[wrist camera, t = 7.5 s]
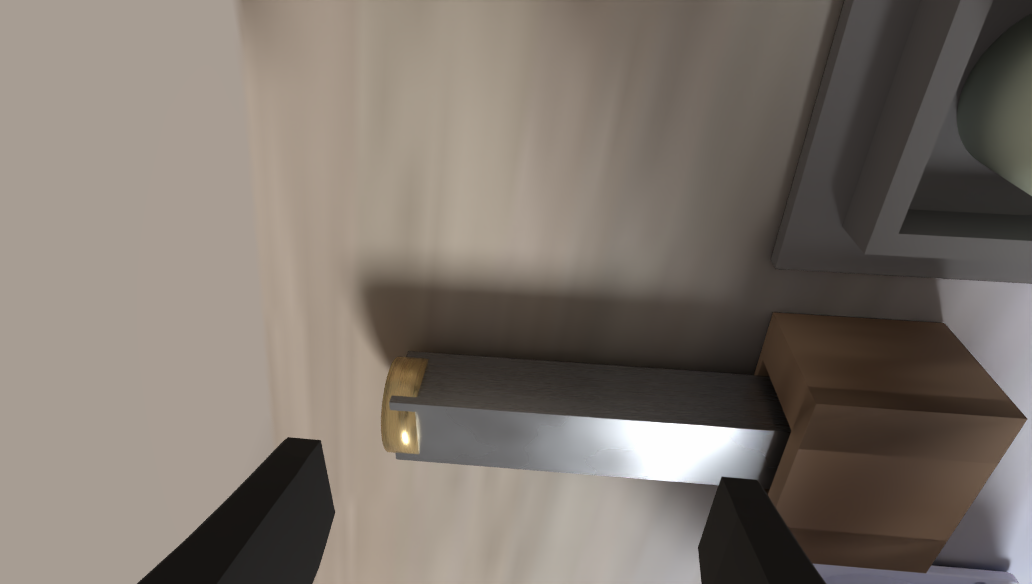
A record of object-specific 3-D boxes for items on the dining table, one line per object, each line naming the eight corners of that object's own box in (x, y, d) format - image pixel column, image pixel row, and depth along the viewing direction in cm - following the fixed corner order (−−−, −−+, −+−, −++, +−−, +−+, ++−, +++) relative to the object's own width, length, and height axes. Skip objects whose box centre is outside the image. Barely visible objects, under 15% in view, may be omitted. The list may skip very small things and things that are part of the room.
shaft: (835, 366, 19) (875, 438, 16) (808, 435, 21) (840, 509, 18) (402, 337, 20) (376, 401, 17) (409, 405, 21) (386, 472, 19)
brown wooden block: (944, 322, 18) (1027, 419, 15) (872, 468, 22) (926, 573, 18) (773, 312, 18) (815, 403, 15) (728, 458, 22) (756, 558, 19)
